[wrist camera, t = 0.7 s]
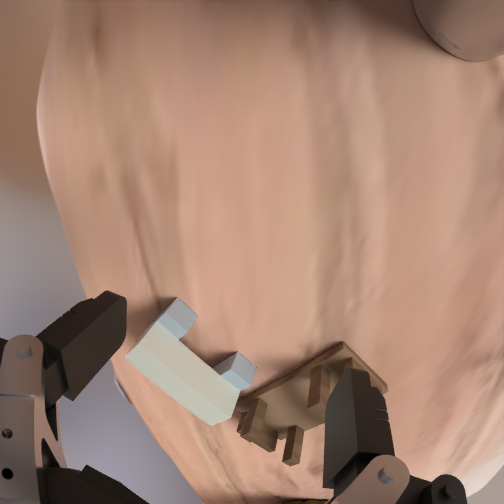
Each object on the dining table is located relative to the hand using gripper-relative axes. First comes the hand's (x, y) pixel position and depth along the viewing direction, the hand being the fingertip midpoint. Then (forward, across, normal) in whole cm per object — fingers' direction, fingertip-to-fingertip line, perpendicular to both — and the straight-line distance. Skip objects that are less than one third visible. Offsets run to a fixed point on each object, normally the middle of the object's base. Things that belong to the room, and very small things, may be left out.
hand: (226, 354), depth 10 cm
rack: (+19, -9, +20) cm, 29 cm away
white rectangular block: (+16, +5, +17) cm, 24 cm away
